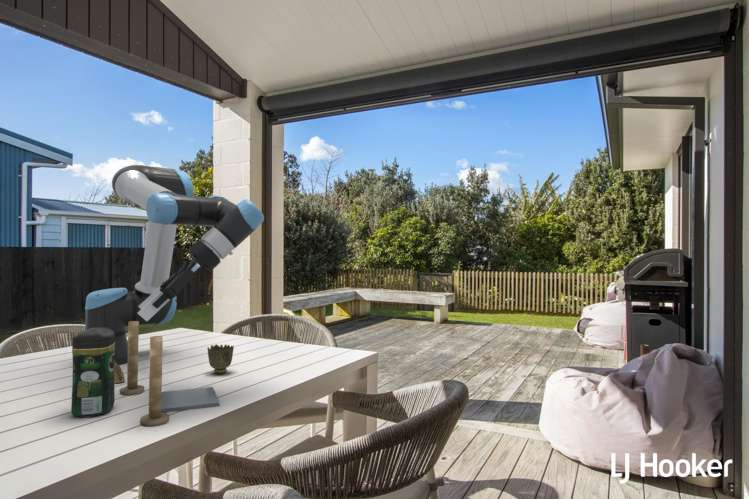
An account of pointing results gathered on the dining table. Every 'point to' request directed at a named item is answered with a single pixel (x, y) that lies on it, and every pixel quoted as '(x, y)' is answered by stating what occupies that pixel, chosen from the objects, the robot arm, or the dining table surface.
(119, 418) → the dining table surface
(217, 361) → the cup
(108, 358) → the coffee jar
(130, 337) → the dowel
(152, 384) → the dowel
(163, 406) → the slate pad
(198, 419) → the dining table surface
